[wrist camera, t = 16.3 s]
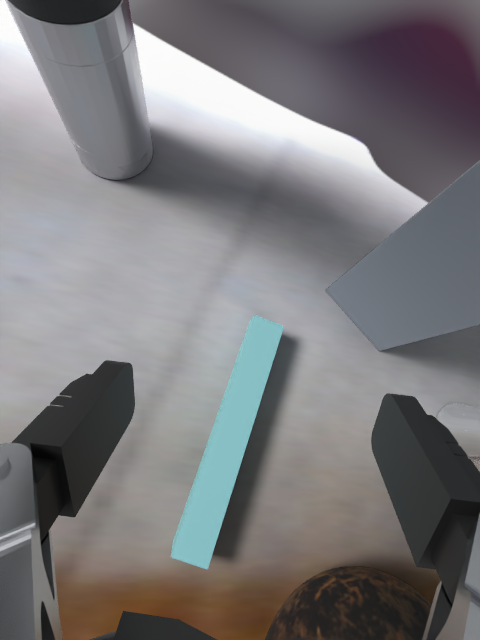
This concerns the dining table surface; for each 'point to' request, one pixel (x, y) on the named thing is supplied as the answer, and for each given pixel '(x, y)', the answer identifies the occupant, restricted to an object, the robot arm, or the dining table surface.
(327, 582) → the glass bottle
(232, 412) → the batten
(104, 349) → the dining table surface
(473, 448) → the beer glass
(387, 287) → the tower
